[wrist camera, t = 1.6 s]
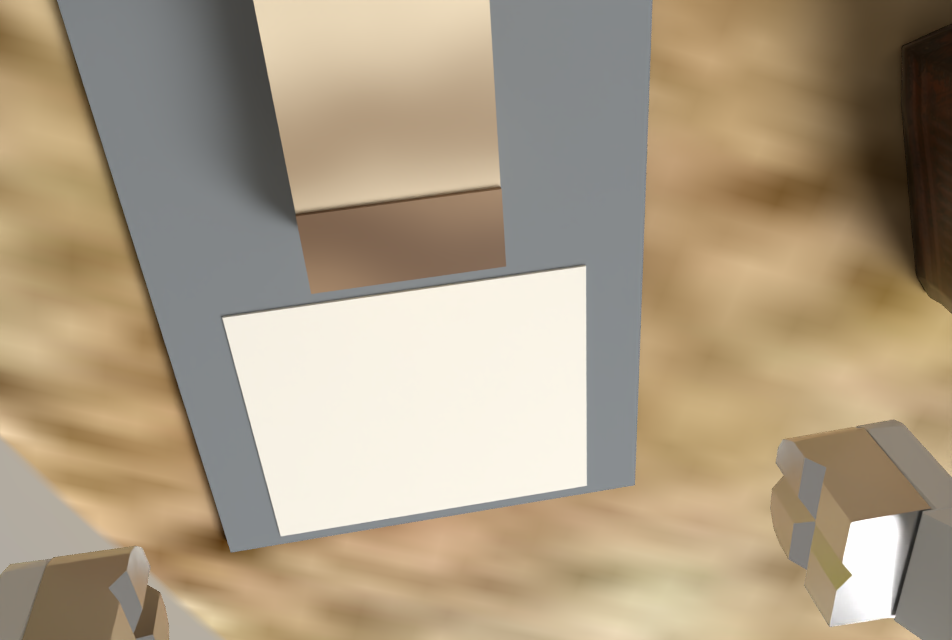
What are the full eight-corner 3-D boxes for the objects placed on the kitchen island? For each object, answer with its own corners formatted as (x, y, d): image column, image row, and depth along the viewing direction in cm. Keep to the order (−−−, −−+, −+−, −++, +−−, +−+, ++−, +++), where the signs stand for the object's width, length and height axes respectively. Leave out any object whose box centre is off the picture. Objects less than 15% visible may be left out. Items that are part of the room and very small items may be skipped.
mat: (30, -103, 23) (24, -99, 22) (651, -163, 24) (659, -161, 24) (231, 542, 35) (230, 554, 35) (630, 476, 37) (635, 487, 36)
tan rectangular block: (250, -78, 23) (242, -50, 20) (463, -100, 24) (486, -75, 21) (310, 233, 28) (311, 294, 25) (484, 210, 29) (506, 266, 26)
